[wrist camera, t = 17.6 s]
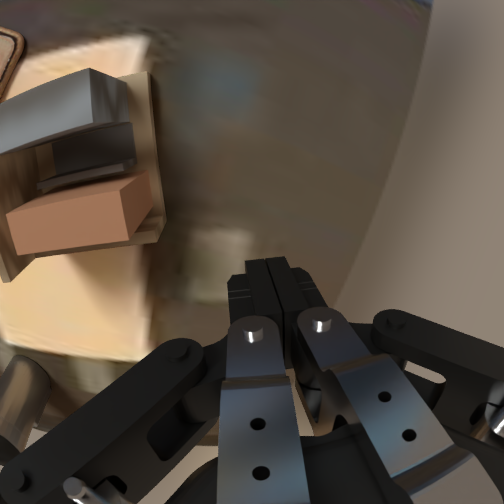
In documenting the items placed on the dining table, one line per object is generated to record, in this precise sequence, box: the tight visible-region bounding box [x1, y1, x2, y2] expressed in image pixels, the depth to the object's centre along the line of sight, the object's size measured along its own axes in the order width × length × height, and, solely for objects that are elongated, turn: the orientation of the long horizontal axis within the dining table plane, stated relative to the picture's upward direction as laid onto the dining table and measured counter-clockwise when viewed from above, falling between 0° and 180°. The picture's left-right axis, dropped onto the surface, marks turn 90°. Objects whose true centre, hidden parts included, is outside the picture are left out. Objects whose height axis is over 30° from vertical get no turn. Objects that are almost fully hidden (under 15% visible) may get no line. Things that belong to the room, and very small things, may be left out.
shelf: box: [0, 68, 167, 283], centre depth 24 cm, size 17×16×12 cm
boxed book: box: [6, 170, 153, 255], centre depth 25 cm, size 4×12×10 cm, turn 94°
